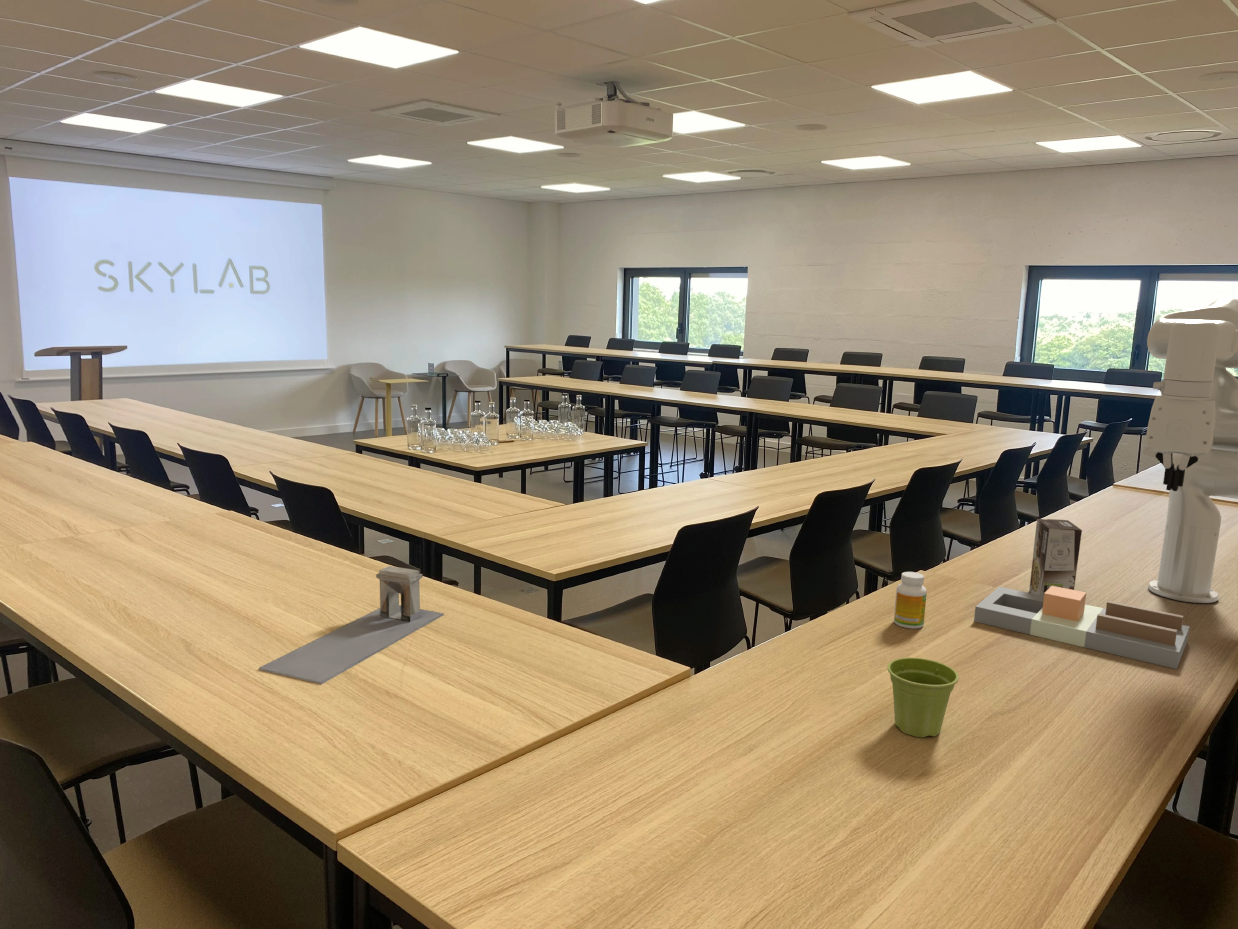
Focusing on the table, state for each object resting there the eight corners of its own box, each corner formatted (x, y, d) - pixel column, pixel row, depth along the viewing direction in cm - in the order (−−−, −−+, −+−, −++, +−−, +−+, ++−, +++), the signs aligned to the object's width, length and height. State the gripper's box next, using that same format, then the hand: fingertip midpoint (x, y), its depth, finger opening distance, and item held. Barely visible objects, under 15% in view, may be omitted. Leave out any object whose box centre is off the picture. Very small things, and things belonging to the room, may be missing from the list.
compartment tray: (997, 600, 177) (1000, 574, 176) (1187, 641, 157) (1191, 613, 156) (973, 621, 165) (976, 594, 164) (1176, 669, 144) (1181, 638, 143)
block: (1049, 605, 166) (1051, 585, 165) (1083, 612, 162) (1086, 592, 161) (1041, 613, 161) (1044, 593, 160) (1077, 621, 157) (1080, 600, 157)
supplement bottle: (925, 630, 159) (930, 580, 157) (895, 627, 160) (899, 577, 159) (921, 620, 164) (926, 571, 163) (892, 617, 165) (896, 569, 164)
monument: (443, 617, 161) (443, 567, 160) (322, 686, 131) (319, 626, 129) (388, 607, 166) (387, 559, 164) (258, 672, 136) (255, 614, 134)
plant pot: (944, 751, 115) (951, 691, 114) (874, 732, 120) (879, 674, 119) (958, 724, 123) (964, 667, 122) (892, 707, 128) (897, 652, 127)
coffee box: (1073, 607, 174) (1083, 530, 171) (1039, 604, 175) (1048, 527, 172) (1060, 593, 183) (1069, 519, 180) (1027, 590, 184) (1036, 517, 181)
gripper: (1135, 388, 157) (1122, 486, 160) (1235, 395, 148) (1219, 499, 151) (1142, 385, 163) (1129, 480, 166) (1238, 392, 154) (1222, 492, 157)
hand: (1172, 489), depth 159 cm, fingers closed
